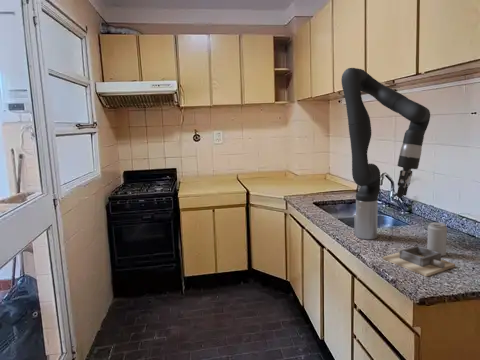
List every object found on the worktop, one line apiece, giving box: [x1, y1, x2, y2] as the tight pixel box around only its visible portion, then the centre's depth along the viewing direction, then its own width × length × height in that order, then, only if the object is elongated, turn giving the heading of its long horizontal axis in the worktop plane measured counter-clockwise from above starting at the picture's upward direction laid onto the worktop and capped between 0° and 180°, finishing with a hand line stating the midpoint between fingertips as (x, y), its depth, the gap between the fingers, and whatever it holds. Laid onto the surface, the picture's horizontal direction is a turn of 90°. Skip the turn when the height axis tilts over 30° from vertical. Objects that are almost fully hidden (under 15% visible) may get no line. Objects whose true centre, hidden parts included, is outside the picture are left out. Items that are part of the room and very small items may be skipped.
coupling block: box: [382, 245, 456, 277], centre depth 128 cm, size 18×15×4 cm
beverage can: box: [426, 222, 448, 257], centre depth 134 cm, size 6×6×12 cm
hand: (401, 195), depth 141 cm, fingers open, 8 cm apart
